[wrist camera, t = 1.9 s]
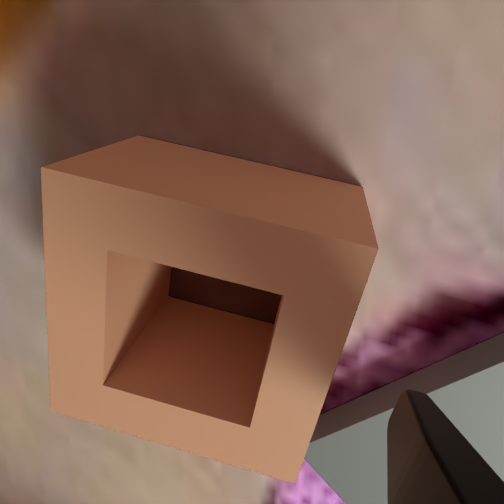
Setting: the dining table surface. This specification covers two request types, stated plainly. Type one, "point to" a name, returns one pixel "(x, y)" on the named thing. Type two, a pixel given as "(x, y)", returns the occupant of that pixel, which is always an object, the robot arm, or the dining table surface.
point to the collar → (194, 315)
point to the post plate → (380, 409)
